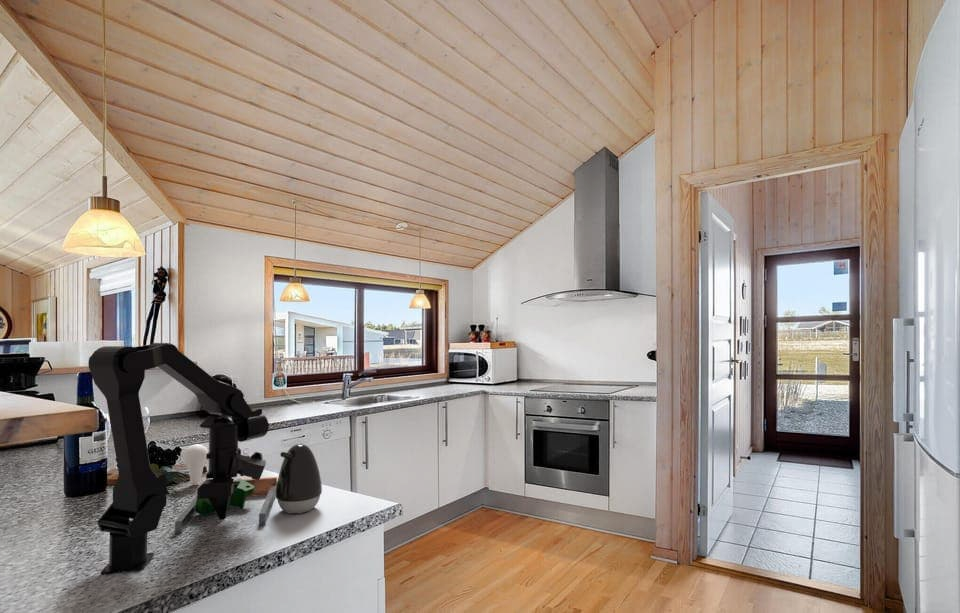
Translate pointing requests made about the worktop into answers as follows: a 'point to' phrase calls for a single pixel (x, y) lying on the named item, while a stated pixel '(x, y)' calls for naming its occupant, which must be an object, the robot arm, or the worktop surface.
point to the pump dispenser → (298, 480)
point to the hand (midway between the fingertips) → (222, 519)
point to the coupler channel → (260, 488)
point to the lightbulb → (195, 462)
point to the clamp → (236, 499)
